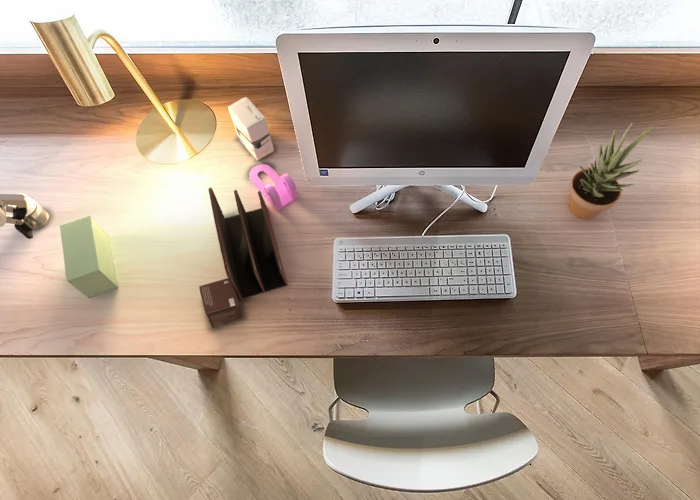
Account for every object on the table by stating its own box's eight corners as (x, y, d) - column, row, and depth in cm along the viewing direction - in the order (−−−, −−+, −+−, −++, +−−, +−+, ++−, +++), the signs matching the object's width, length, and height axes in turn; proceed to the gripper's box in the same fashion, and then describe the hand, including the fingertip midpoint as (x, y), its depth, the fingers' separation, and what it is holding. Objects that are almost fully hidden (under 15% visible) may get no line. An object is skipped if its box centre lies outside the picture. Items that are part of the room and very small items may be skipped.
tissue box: (90, 300, 99) (65, 281, 91) (82, 248, 105) (58, 226, 97) (120, 289, 100) (99, 269, 92) (111, 238, 106) (90, 215, 98)
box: (205, 301, 97) (198, 285, 91) (236, 293, 98) (230, 276, 92) (212, 329, 94) (204, 314, 88) (243, 320, 95) (238, 304, 89)
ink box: (239, 142, 117) (226, 105, 107) (256, 131, 118) (245, 94, 108) (258, 164, 114) (246, 128, 103) (276, 153, 115) (266, 117, 104)
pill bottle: (25, 229, 108) (0, 208, 100) (36, 211, 110) (12, 189, 102) (44, 233, 107) (20, 212, 100) (55, 215, 109) (32, 193, 102)
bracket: (298, 199, 108) (294, 180, 102) (278, 213, 107) (272, 195, 101) (266, 164, 113) (260, 144, 107) (245, 176, 112) (238, 157, 106)
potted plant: (602, 189, 106) (661, 106, 85) (609, 227, 102) (673, 149, 80) (555, 187, 107) (601, 103, 85) (559, 224, 103) (609, 146, 81)
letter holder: (240, 302, 97) (221, 271, 85) (223, 221, 106) (203, 182, 94) (289, 288, 98) (277, 255, 86) (268, 209, 107) (254, 169, 95)
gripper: (-150, 219, 65) (-54, 275, 80) (-13, 181, 68) (55, 242, 83) (-143, 176, 69) (-53, 237, 84) (-13, 142, 71) (52, 207, 86)
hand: (1, 240), depth 83 cm, fingers open, 9 cm apart
